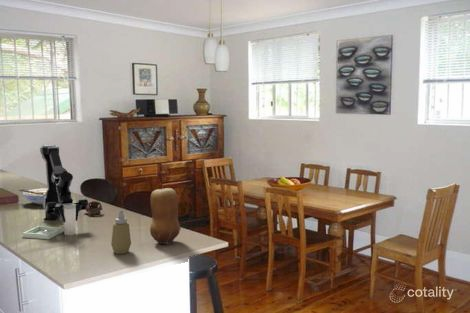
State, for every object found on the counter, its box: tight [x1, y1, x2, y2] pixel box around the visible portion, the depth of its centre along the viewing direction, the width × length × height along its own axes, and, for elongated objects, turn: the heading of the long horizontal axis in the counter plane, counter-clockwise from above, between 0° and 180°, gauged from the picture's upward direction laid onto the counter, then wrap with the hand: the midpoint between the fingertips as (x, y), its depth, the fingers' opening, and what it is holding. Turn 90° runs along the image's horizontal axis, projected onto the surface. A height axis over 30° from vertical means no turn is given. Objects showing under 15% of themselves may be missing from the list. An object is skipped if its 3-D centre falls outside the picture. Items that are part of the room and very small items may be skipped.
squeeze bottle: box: [110, 209, 132, 255], centre depth 186 cm, size 8×8×18 cm
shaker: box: [63, 204, 77, 236], centre depth 209 cm, size 5×5×14 cm
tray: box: [22, 225, 64, 240], centre depth 207 cm, size 13×13×3 cm
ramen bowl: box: [18, 187, 48, 206], centre depth 273 cm, size 25×23×8 cm
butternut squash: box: [149, 187, 182, 245], centre depth 199 cm, size 14×13×25 cm
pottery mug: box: [84, 200, 103, 217], centre depth 250 cm, size 12×10×8 cm
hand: (70, 221), depth 208 cm, fingers closed on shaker, 5 cm apart
